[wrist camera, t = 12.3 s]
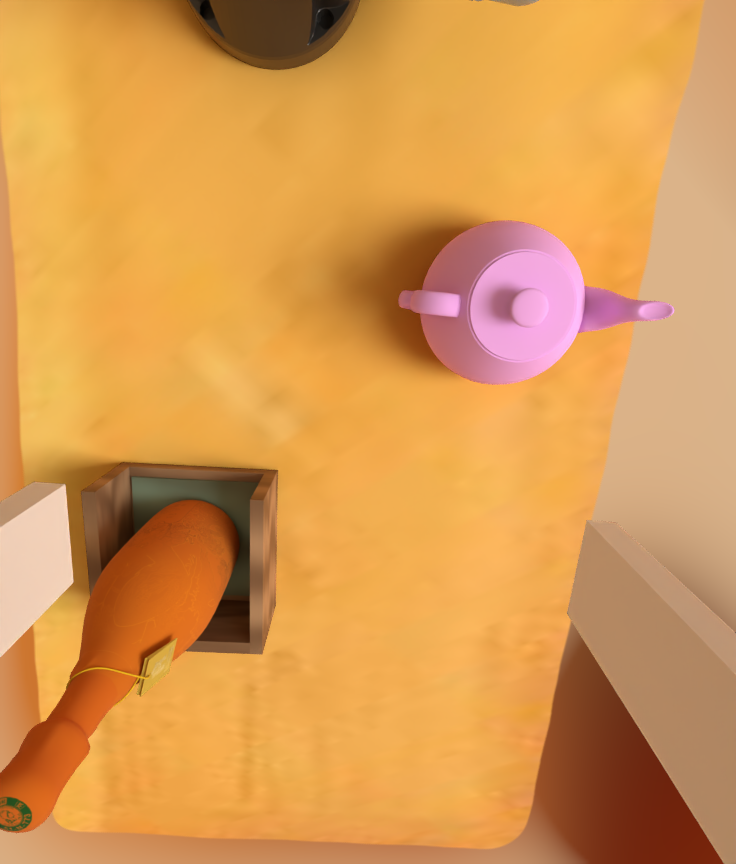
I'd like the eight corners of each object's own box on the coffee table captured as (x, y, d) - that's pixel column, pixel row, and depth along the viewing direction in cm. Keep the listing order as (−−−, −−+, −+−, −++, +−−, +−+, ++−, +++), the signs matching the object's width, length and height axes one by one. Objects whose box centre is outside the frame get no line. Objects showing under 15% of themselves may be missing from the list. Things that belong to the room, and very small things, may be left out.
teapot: (612, 232, 48) (695, 211, 36) (589, 381, 52) (658, 408, 40) (399, 221, 48) (412, 197, 36) (391, 373, 52) (400, 398, 40)
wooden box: (122, 462, 53) (81, 491, 46) (277, 470, 54) (263, 500, 46) (131, 599, 58) (94, 647, 50) (275, 605, 58) (262, 654, 50)
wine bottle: (191, 596, 56) (9, 920, 27) (129, 528, 54) (-141, 801, 25) (262, 547, 55) (152, 834, 26) (202, 476, 52) (7, 700, 23)
